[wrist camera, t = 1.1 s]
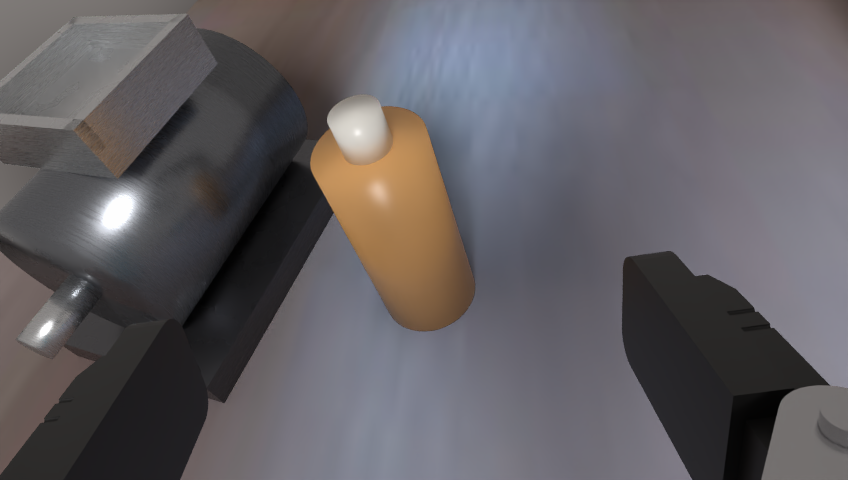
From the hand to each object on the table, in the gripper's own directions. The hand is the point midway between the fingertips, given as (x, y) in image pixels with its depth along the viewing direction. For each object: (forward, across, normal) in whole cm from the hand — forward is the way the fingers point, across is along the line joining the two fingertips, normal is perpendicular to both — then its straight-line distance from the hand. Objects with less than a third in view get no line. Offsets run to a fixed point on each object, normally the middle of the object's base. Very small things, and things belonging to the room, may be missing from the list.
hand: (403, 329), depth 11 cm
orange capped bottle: (+22, 0, +13) cm, 25 cm away
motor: (+29, +15, +11) cm, 34 cm away
